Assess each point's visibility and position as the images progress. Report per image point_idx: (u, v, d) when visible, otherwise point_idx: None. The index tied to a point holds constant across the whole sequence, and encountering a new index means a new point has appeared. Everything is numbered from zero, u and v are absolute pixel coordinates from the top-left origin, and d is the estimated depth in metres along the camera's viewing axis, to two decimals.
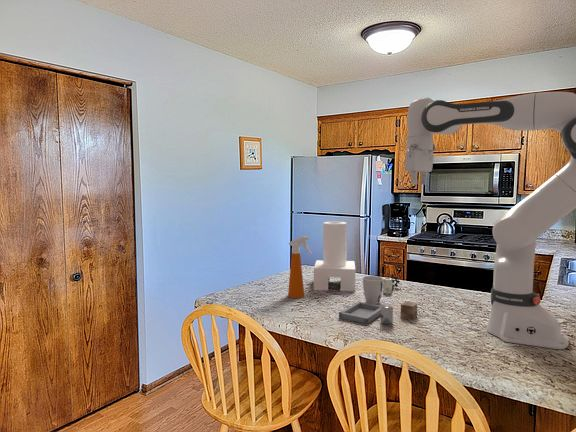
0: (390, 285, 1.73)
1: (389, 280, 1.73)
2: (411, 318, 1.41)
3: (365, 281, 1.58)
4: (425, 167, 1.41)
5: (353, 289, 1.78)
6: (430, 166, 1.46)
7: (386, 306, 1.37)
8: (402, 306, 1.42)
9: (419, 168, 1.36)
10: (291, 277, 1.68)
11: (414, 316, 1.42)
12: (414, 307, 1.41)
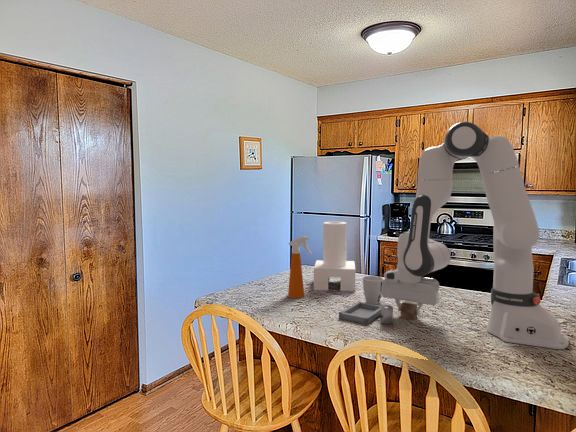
0: None
1: None
2: (411, 318, 1.41)
3: (365, 281, 1.58)
4: None
5: (353, 289, 1.78)
6: None
7: (386, 306, 1.37)
8: (402, 306, 1.42)
9: None
10: (291, 277, 1.68)
11: (414, 316, 1.42)
12: (414, 307, 1.41)
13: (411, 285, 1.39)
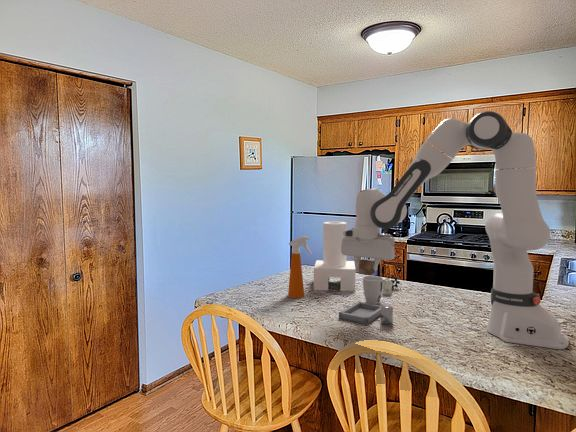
0: (390, 286, 1.72)
1: (389, 281, 1.72)
2: (368, 273, 1.44)
3: (365, 281, 1.58)
4: None
5: (353, 289, 1.78)
6: None
7: (386, 306, 1.37)
8: (360, 262, 1.46)
9: None
10: (291, 277, 1.68)
11: (372, 272, 1.45)
12: (371, 263, 1.45)
13: (368, 241, 1.43)
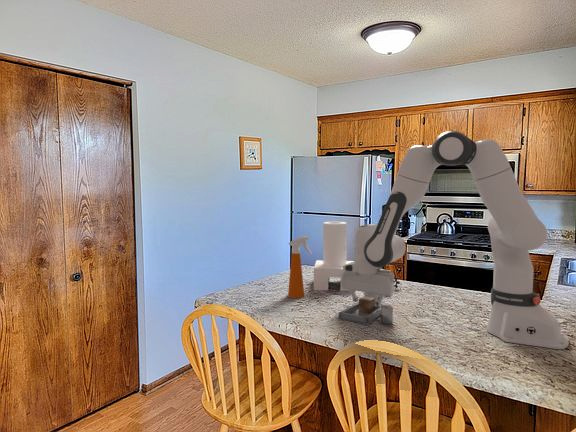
0: None
1: None
2: (368, 312, 1.45)
3: None
4: None
5: None
6: None
7: (386, 306, 1.37)
8: (360, 301, 1.47)
9: None
10: (291, 277, 1.68)
11: (371, 310, 1.46)
12: (371, 302, 1.46)
13: (368, 276, 1.44)
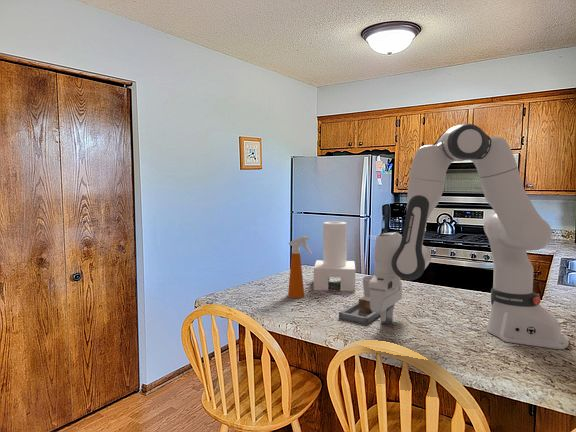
0: None
1: None
2: (368, 312, 1.45)
3: (365, 281, 1.58)
4: None
5: (353, 289, 1.78)
6: None
7: None
8: (360, 301, 1.47)
9: None
10: (291, 277, 1.68)
11: None
12: None
13: None
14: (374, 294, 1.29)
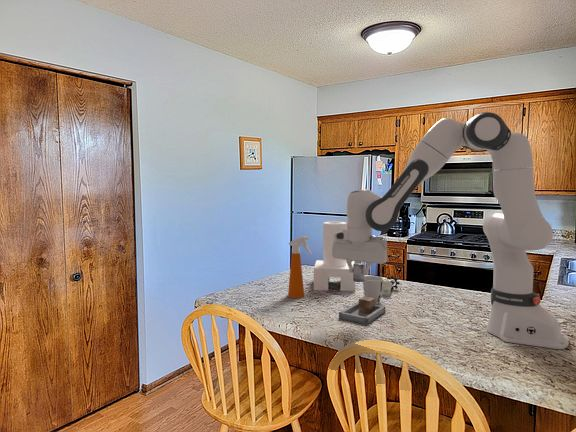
0: (389, 287, 1.70)
1: (388, 281, 1.70)
2: (368, 312, 1.45)
3: (365, 281, 1.58)
4: None
5: (353, 289, 1.78)
6: None
7: (360, 264, 1.41)
8: (360, 301, 1.47)
9: None
10: (291, 277, 1.68)
11: (371, 310, 1.46)
12: (371, 302, 1.46)
13: (360, 244, 1.37)
14: None
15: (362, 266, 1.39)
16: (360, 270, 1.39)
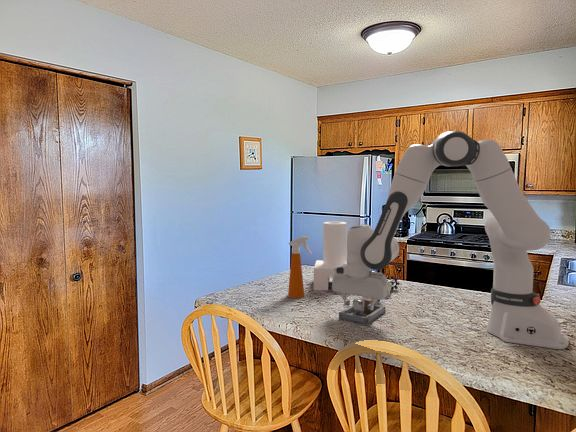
0: (388, 287, 1.70)
1: (387, 282, 1.69)
2: (368, 312, 1.45)
3: None
4: None
5: None
6: None
7: (359, 300, 1.42)
8: None
9: None
10: (291, 277, 1.68)
11: (371, 310, 1.46)
12: (371, 302, 1.46)
13: (359, 279, 1.38)
14: None
15: (362, 303, 1.40)
16: (360, 307, 1.40)
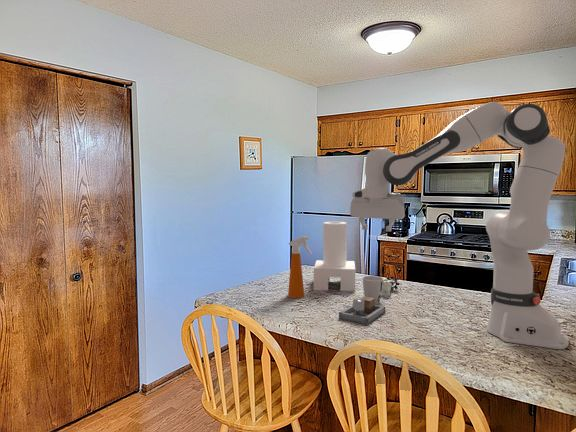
0: (388, 287, 1.69)
1: (387, 282, 1.69)
2: (368, 312, 1.45)
3: (365, 281, 1.58)
4: None
5: (353, 289, 1.78)
6: None
7: (359, 300, 1.42)
8: None
9: None
10: (291, 277, 1.68)
11: (371, 310, 1.46)
12: (371, 302, 1.46)
13: (378, 201, 1.42)
14: None
15: (362, 303, 1.40)
16: (360, 307, 1.40)
